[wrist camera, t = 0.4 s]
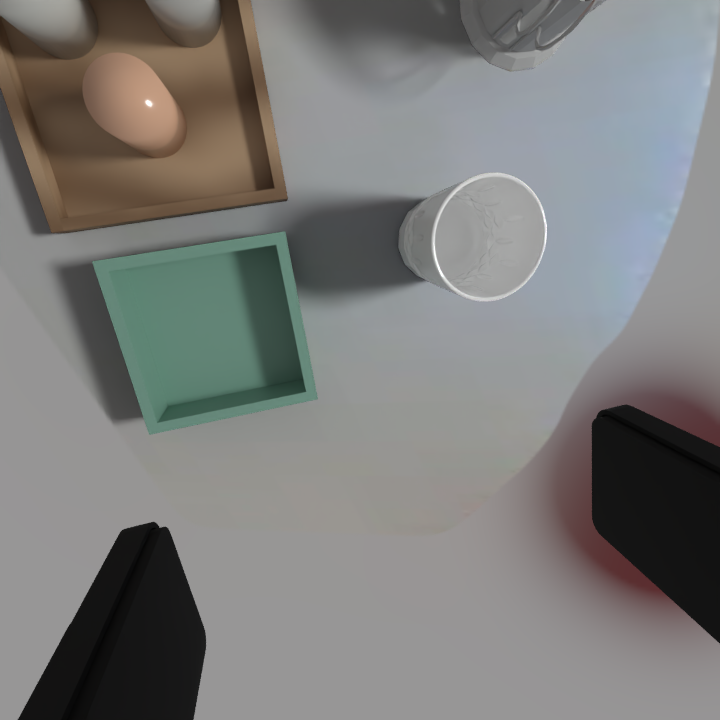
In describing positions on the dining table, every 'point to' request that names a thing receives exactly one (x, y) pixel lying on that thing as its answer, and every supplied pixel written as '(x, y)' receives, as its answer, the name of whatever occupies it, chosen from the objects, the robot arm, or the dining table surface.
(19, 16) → the pebble
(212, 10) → the pebble
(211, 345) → the bin
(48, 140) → the tray
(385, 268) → the dining table surface
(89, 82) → the brown smooth lump
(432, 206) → the white cup
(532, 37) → the french press
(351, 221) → the dining table surface
